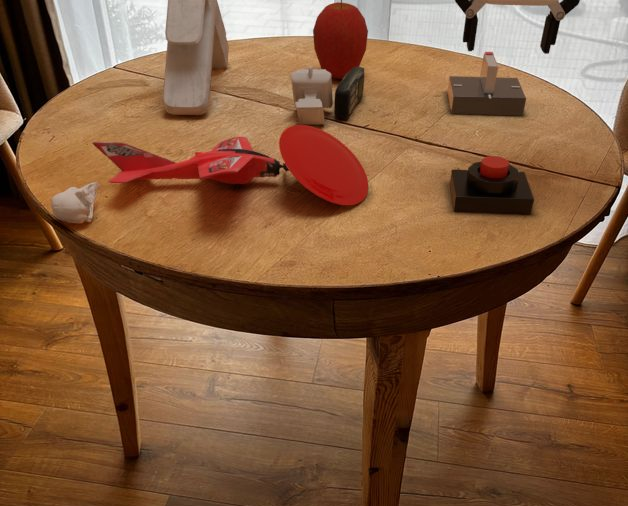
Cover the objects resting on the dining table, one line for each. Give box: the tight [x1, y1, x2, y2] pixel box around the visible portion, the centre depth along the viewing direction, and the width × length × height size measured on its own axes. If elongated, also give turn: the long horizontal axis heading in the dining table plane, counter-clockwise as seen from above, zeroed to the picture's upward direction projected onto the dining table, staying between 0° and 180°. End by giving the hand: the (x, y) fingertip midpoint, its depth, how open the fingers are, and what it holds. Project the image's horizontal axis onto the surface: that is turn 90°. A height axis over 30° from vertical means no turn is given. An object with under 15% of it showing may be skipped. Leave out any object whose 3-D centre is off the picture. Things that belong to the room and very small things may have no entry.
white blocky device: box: [290, 65, 334, 126], centre depth 110 cm, size 9×7×8 cm
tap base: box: [447, 75, 527, 117], centre depth 117 cm, size 12×11×3 cm
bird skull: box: [50, 181, 101, 224], centre depth 87 cm, size 6×8×4 cm
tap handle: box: [479, 51, 499, 94], centre depth 114 cm, size 7×2×5 cm, turn 175°
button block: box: [449, 160, 535, 215], centre depth 90 cm, size 10×8×4 cm
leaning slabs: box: [161, 0, 230, 116], centre depth 120 cm, size 8×24×23 cm
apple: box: [312, 0, 369, 80], centre depth 124 cm, size 10×10×14 cm
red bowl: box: [278, 124, 369, 206], centre depth 92 cm, size 14×14×6 cm
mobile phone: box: [333, 66, 365, 119], centre depth 116 cm, size 5×3×15 cm
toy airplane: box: [91, 136, 290, 187], centre depth 92 cm, size 27×27×5 cm
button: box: [480, 155, 510, 179], centre depth 88 cm, size 4×4×2 cm
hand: (506, 49), depth 88 cm, fingers open, 9 cm apart
